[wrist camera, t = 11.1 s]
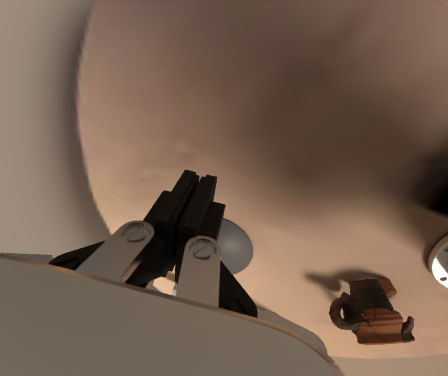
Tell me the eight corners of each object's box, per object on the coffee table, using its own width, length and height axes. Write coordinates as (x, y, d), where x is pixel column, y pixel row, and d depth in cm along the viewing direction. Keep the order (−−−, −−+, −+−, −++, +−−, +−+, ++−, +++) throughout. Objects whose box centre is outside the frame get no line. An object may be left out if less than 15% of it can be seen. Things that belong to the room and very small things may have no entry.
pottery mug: (411, 274, 36) (440, 340, 32) (374, 285, 44) (393, 339, 40) (332, 280, 35) (351, 349, 31) (309, 290, 43) (321, 346, 39)
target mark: (263, 228, 36) (263, 229, 35) (241, 283, 43) (241, 284, 43) (175, 205, 36) (175, 206, 36) (169, 263, 43) (168, 264, 43)
